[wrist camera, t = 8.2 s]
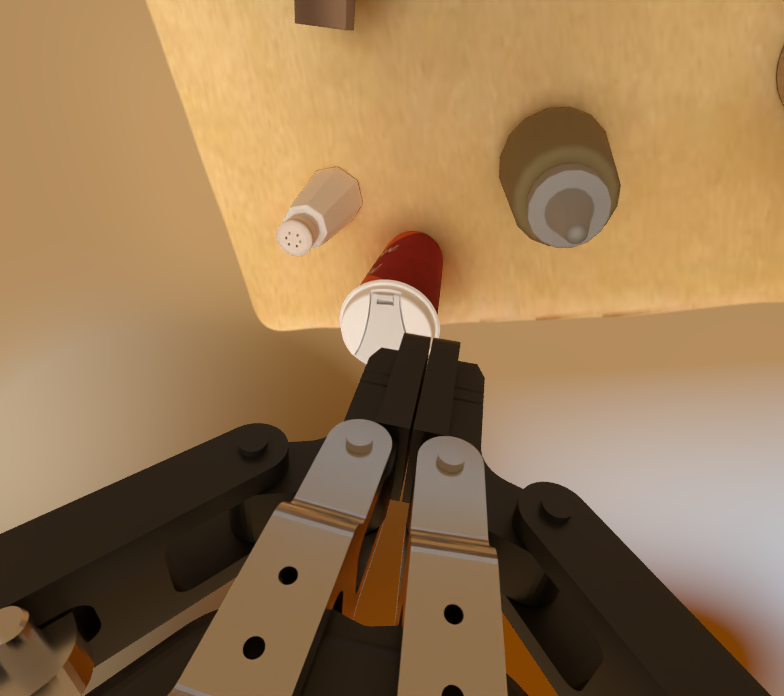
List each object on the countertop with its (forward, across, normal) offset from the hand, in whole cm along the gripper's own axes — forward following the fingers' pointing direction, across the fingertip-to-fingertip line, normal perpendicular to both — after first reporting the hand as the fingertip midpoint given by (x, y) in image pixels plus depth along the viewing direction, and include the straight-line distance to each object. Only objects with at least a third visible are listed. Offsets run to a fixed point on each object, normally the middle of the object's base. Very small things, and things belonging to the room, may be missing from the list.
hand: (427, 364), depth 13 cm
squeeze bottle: (+33, -6, +1) cm, 34 cm away
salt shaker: (+33, +12, +7) cm, 36 cm away
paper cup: (+33, +4, +12) cm, 36 cm away
